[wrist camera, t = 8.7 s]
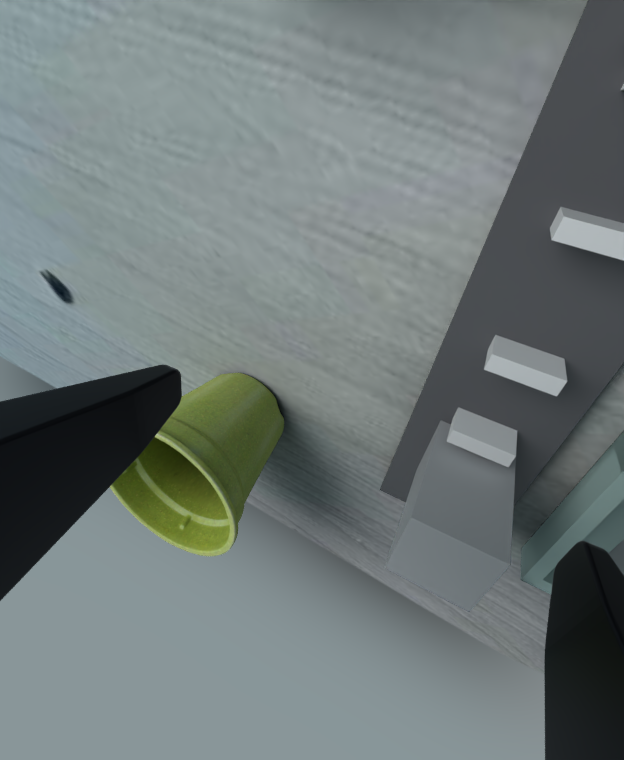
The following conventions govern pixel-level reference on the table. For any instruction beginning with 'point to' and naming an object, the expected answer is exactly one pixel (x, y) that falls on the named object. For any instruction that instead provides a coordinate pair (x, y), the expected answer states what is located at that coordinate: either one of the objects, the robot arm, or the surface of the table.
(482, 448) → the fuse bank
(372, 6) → the table surface
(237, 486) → the plant pot
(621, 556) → the block
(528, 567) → the tray
